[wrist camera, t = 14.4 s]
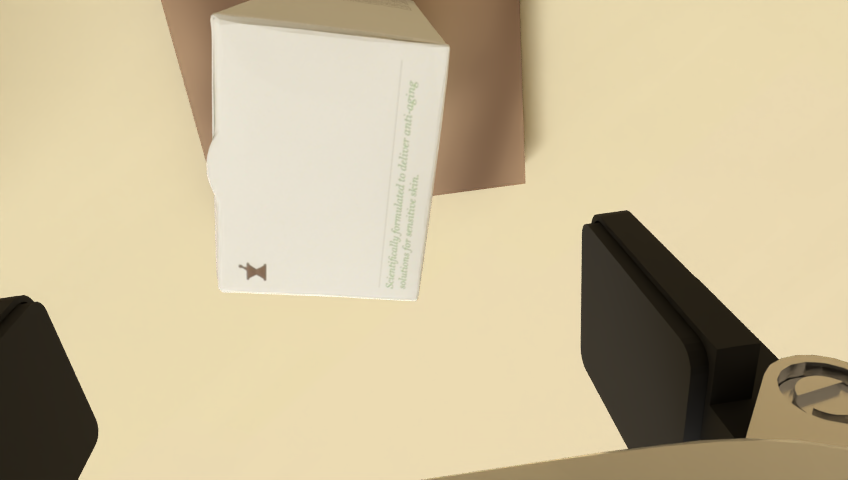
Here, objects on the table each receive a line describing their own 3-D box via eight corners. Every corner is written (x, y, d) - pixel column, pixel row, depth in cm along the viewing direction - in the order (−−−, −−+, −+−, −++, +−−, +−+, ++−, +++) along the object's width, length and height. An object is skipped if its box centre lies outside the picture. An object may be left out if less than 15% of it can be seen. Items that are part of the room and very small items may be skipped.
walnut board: (230, 209, 36) (223, 223, 34) (152, -79, 29) (138, -80, 27) (517, 171, 37) (525, 183, 35) (506, -120, 30) (515, -123, 28)
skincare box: (398, 157, 33) (424, 316, 20) (273, 145, 33) (208, 305, 19) (416, -8, 30) (465, 43, 16) (277, -26, 29) (199, 12, 15)
